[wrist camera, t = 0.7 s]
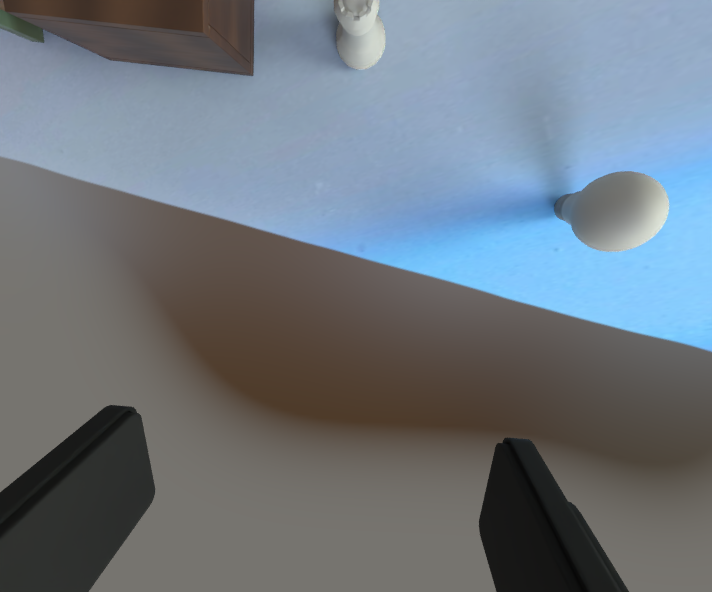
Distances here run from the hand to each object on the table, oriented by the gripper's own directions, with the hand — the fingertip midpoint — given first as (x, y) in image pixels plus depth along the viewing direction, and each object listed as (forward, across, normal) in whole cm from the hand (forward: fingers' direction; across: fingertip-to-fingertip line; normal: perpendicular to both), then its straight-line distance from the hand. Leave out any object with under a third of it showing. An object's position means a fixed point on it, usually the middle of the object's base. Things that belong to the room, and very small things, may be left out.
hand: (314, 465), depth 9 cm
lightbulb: (+30, -20, -6) cm, 36 cm away
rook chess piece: (+30, +1, -19) cm, 35 cm away
